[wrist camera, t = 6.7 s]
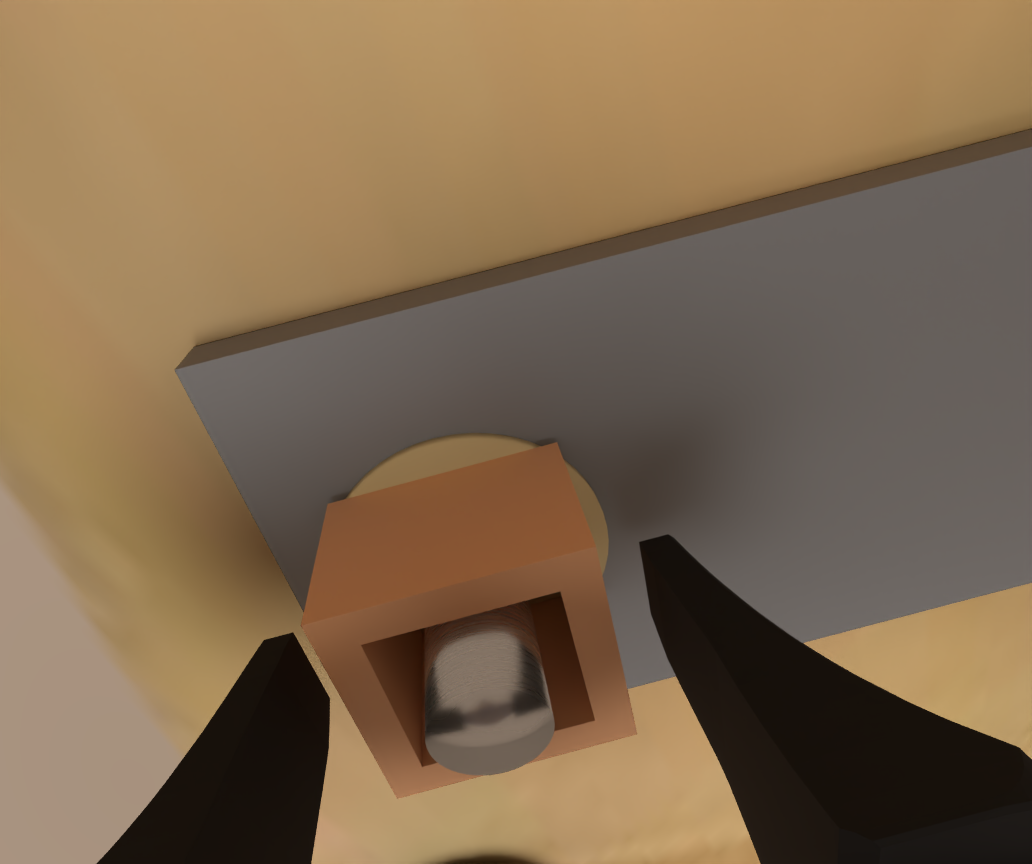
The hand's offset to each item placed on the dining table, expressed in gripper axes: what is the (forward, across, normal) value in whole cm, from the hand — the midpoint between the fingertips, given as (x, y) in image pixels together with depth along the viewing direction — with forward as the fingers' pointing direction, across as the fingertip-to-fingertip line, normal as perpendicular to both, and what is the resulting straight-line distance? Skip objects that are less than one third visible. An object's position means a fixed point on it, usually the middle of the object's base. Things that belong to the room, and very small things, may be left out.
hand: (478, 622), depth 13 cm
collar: (+2, 0, 0) cm, 2 cm away
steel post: (+3, 0, 0) cm, 3 cm away
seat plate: (+3, -5, 0) cm, 6 cm away
